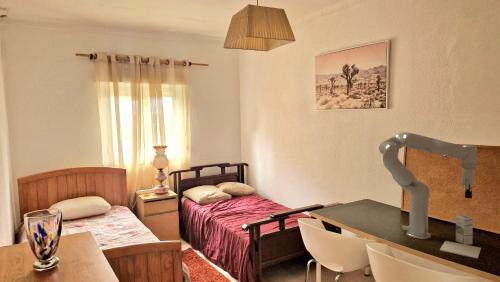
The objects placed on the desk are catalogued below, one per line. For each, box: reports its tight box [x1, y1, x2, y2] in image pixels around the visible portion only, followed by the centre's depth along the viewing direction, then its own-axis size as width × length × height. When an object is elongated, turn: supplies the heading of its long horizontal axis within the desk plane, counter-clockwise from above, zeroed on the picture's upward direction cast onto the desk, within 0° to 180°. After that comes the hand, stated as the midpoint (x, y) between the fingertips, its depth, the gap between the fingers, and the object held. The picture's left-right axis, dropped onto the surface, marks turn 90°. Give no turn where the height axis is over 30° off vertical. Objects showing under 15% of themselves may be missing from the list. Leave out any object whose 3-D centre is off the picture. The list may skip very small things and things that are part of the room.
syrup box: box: [455, 214, 474, 246], centre depth 174 cm, size 6×6×14 cm
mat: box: [439, 240, 482, 259], centre depth 165 cm, size 16×15×1 cm
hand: (468, 197), depth 182 cm, fingers closed
